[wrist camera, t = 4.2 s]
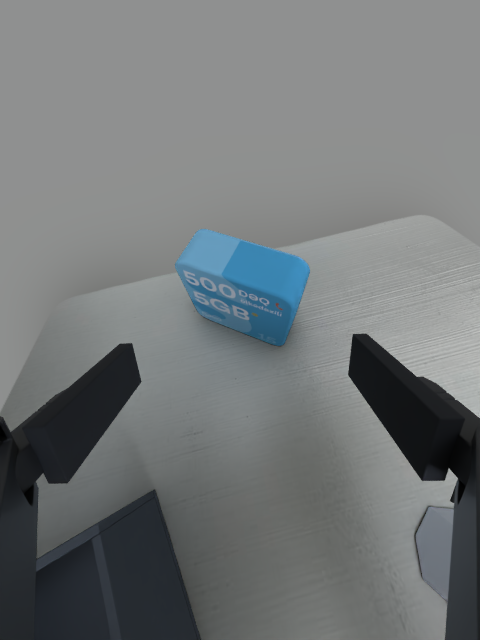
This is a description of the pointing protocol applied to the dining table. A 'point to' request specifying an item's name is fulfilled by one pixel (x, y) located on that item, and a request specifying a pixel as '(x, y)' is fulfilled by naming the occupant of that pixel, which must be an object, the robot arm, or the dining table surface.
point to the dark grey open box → (115, 582)
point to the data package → (243, 284)
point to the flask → (436, 548)
